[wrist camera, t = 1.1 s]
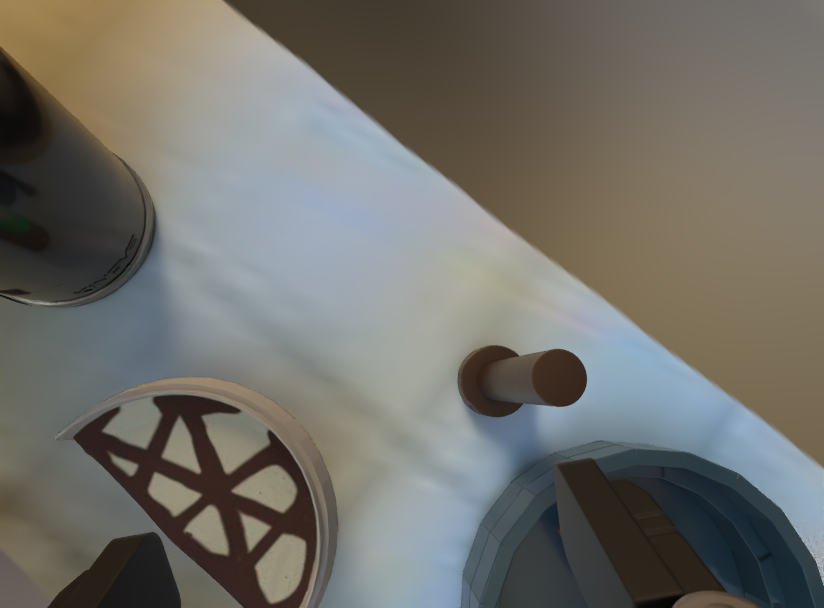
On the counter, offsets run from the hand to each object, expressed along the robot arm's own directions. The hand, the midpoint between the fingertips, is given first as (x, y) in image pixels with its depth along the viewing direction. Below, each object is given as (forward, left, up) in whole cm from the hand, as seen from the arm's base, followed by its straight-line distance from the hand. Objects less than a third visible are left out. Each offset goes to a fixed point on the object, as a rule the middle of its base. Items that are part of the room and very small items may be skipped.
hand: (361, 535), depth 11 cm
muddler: (+4, +7, -20) cm, 21 cm away
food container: (-3, -4, -20) cm, 21 cm away
